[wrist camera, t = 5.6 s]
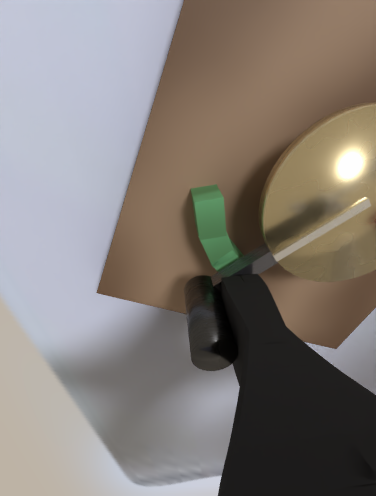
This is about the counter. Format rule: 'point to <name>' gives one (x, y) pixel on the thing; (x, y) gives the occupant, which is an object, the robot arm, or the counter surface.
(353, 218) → the dial
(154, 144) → the dial board
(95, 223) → the counter surface
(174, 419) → the counter surface
